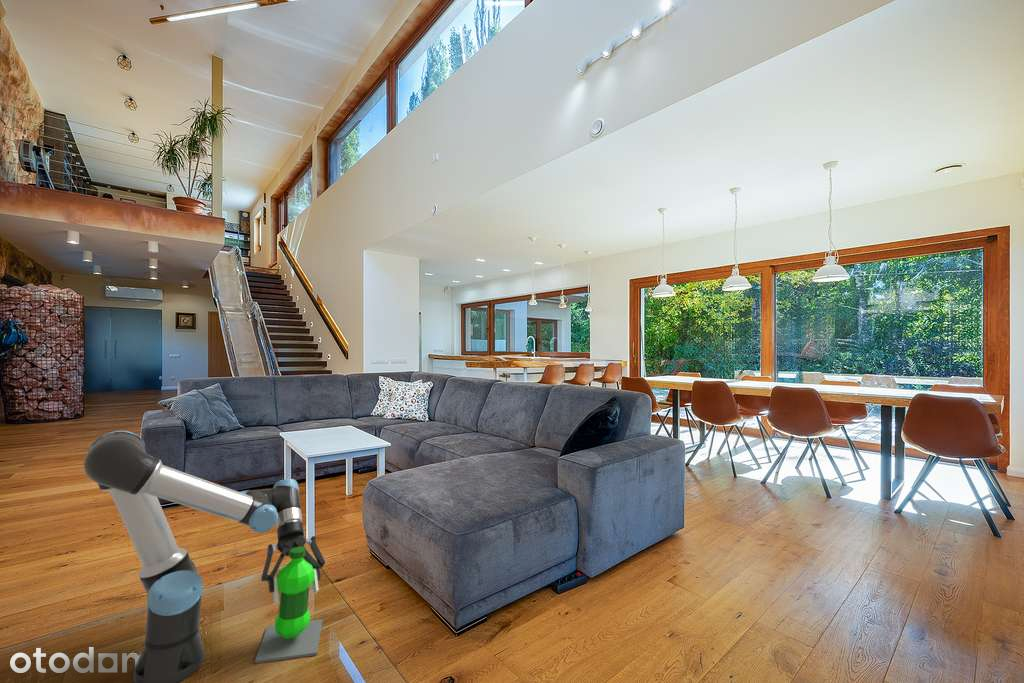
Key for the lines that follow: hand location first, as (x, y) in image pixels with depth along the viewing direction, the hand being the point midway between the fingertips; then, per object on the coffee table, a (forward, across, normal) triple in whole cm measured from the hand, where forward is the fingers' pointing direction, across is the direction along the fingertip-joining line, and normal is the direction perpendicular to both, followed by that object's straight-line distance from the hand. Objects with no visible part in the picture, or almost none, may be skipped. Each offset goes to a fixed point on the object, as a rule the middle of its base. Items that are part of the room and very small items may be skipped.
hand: (296, 597), depth 130 cm
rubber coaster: (+8, 0, -12) cm, 15 cm away
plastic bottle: (+7, 0, -11) cm, 13 cm away
